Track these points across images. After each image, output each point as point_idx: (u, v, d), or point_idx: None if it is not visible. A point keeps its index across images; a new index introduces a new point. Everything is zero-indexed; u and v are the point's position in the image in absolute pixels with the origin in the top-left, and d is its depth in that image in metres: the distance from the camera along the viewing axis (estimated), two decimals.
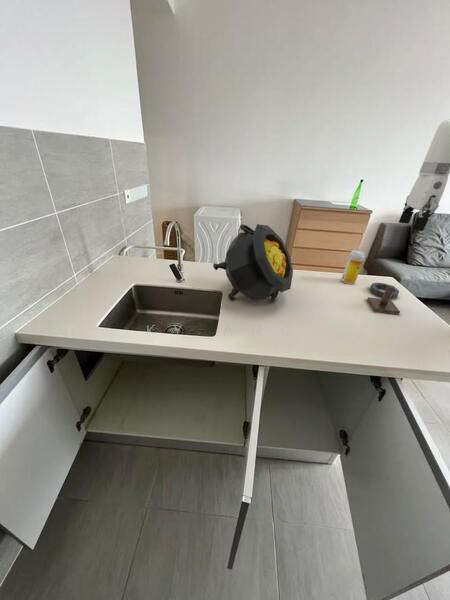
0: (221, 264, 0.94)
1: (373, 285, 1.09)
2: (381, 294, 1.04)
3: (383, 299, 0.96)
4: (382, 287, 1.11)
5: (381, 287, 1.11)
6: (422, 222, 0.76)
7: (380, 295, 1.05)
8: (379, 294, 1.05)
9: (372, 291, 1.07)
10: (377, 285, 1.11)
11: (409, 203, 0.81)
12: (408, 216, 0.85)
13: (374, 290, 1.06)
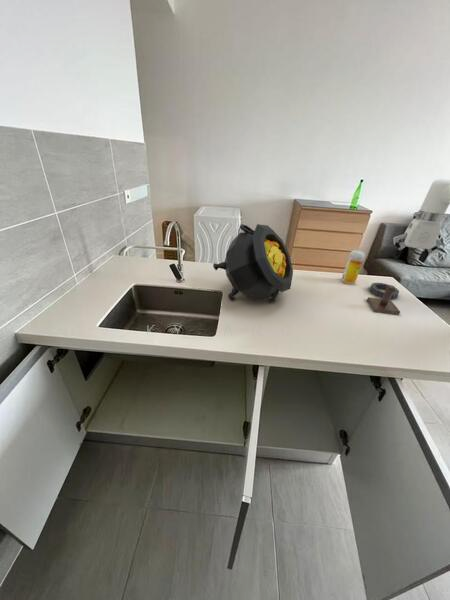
0: (221, 264, 0.94)
1: (373, 285, 1.09)
2: (381, 294, 1.04)
3: (383, 299, 0.96)
4: (382, 287, 1.11)
5: (381, 287, 1.11)
6: (395, 251, 0.98)
7: (380, 295, 1.05)
8: (379, 294, 1.05)
9: (372, 291, 1.07)
10: (377, 285, 1.11)
11: None
12: (423, 256, 0.97)
13: (374, 290, 1.06)
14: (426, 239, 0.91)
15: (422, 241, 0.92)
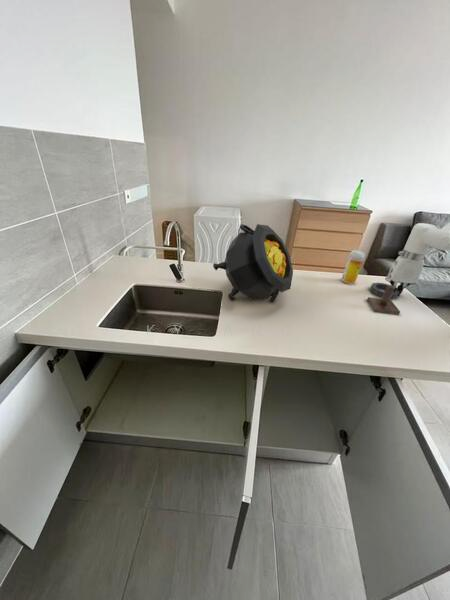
0: (221, 264, 0.94)
1: (373, 285, 1.09)
2: (381, 294, 1.04)
3: (383, 299, 0.96)
4: (382, 287, 1.11)
5: (381, 287, 1.11)
6: None
7: (380, 295, 1.05)
8: (379, 294, 1.05)
9: (372, 291, 1.07)
10: (377, 285, 1.11)
11: None
12: None
13: (374, 290, 1.06)
14: (410, 275, 1.00)
15: (406, 277, 1.01)
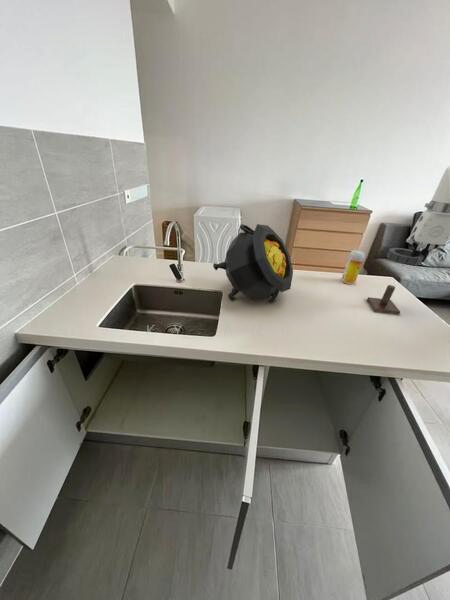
0: (221, 264, 0.94)
1: (391, 250, 0.90)
2: (402, 259, 0.85)
3: (383, 299, 0.96)
4: (402, 253, 0.92)
5: (401, 253, 0.92)
6: (413, 252, 0.88)
7: (401, 260, 0.86)
8: (399, 259, 0.86)
9: (390, 256, 0.89)
10: (396, 250, 0.92)
11: None
12: None
13: (393, 255, 0.87)
14: (439, 233, 0.81)
15: (434, 236, 0.81)
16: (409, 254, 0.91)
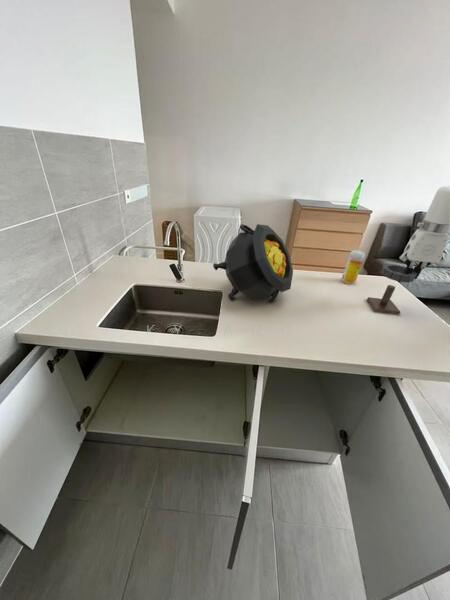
0: (221, 264, 0.94)
1: (385, 266, 0.91)
2: (395, 276, 0.87)
3: (383, 299, 0.96)
4: (395, 269, 0.93)
5: (394, 269, 0.94)
6: (406, 269, 0.89)
7: (394, 277, 0.87)
8: (393, 276, 0.87)
9: (384, 273, 0.90)
10: (390, 267, 0.93)
11: None
12: None
13: (387, 272, 0.89)
14: (431, 252, 0.82)
15: (427, 254, 0.83)
16: (402, 270, 0.92)
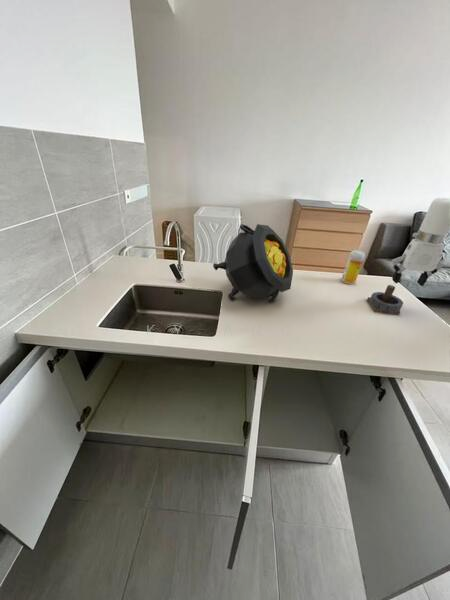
0: (221, 264, 0.94)
1: (374, 295, 0.98)
2: (383, 306, 0.93)
3: (383, 299, 0.96)
4: None
5: None
6: (394, 274, 0.91)
7: (382, 307, 0.93)
8: (381, 306, 0.94)
9: (373, 302, 0.96)
10: (378, 295, 0.99)
11: None
12: (422, 279, 0.89)
13: (375, 301, 0.95)
14: (427, 261, 0.84)
15: (422, 263, 0.85)
16: (390, 299, 0.99)
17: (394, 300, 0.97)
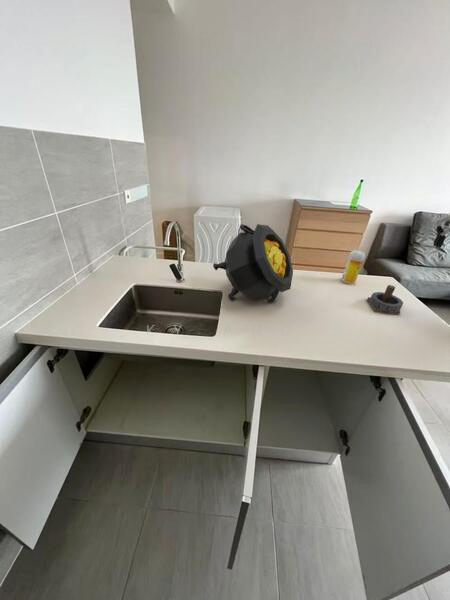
0: (221, 264, 0.94)
1: (374, 295, 0.98)
2: (383, 306, 0.93)
3: (383, 299, 0.96)
4: None
5: None
6: (437, 238, 0.79)
7: (382, 307, 0.93)
8: (381, 306, 0.94)
9: (373, 302, 0.96)
10: (378, 295, 0.99)
11: None
12: None
13: (375, 301, 0.95)
14: None
15: None
16: (390, 299, 0.99)
17: (394, 300, 0.97)
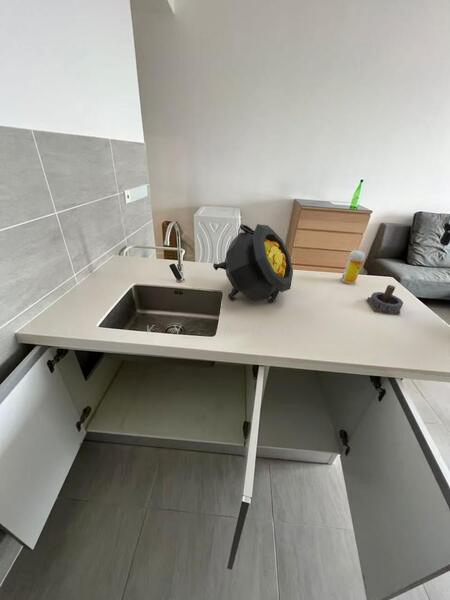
0: (221, 264, 0.94)
1: (374, 295, 0.98)
2: (383, 306, 0.93)
3: (383, 299, 0.96)
4: None
5: None
6: (444, 235, 0.78)
7: (382, 307, 0.93)
8: (381, 306, 0.94)
9: (373, 302, 0.96)
10: (378, 295, 0.99)
11: None
12: None
13: (375, 301, 0.95)
14: None
15: None
16: (390, 299, 0.99)
17: (394, 300, 0.97)
